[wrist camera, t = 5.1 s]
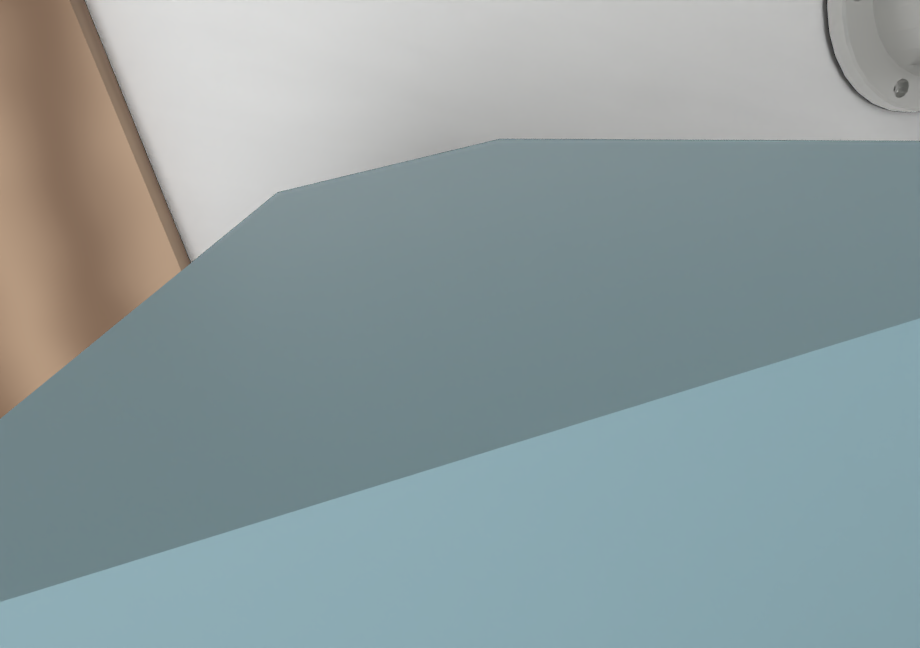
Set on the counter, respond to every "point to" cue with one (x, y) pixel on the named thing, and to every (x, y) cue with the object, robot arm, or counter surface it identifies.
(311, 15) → the counter surface
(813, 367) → the book
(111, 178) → the shelf
